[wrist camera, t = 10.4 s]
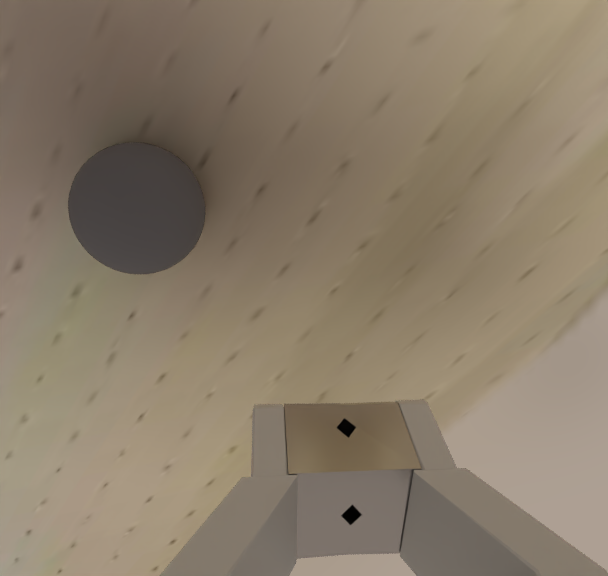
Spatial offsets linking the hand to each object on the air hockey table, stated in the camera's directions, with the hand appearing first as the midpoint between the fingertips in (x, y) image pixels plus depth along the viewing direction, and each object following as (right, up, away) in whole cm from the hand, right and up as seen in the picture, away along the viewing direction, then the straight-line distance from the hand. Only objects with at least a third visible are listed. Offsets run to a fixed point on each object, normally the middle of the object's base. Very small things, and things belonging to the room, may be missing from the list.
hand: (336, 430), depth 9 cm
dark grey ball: (-7, +6, +11) cm, 14 cm away
